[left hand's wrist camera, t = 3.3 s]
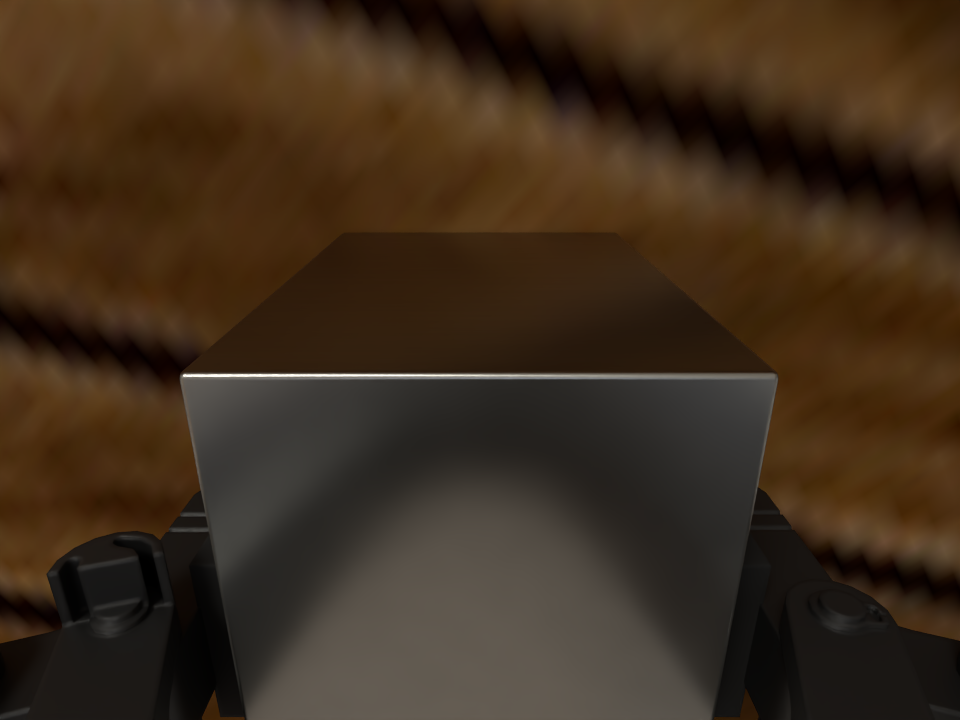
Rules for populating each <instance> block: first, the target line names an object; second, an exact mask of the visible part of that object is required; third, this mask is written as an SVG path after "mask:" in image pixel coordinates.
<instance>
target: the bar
mask: <svg viewBox="0 0 960 720" xmlns="http://www.w3.org/2000/svg"><path fill="white" fill-rule="evenodd" d="M180 383H181V388H182V393H183V399H184V404H185V409H186V414H187V420H188V425H189V430H190V435H191V441H192V446H193V451H194V456H195V461H196V467H197V472H198V477H199V482H200V488H201V493H202V498H203V503H204V509H205V514H206V519H207V524H208V529H209V535H210V540H211V545H212V550H213V556H214V561H215V566H216V571H217V577H218V582H219V587H220V592H221V597H222V603H223V608H224V613H225V618H226V624H227V629H228V634H229V639H230V645H231V650H232V655H233V660H234V666H235V671H236V676H237V681H238V686H239V692H240V697H241V702H242V707H243V713H244V718H245V720H714V715H715V709H716V704H717V699H718V694H719V688H720V683H721V678H722V673H723V667H724V662H725V657H726V651H727V646H728V641H729V636H730V630H731V625H732V620H733V615H734V609H735V604H736V599H737V593H738V588H739V583H740V578H741V572H742V567H743V562H744V557H745V551H746V546H747V541H748V536H749V530H750V525H751V520H752V514H753V509H754V504H755V499H756V493H757V488H758V483H759V478H760V472H761V467H762V462H763V457H764V451H765V446H766V441H767V435H768V430H769V425H770V420H771V414H772V409H773V404H774V399H775V393H776V388H777V383H778V375H777V372H776V371H774V370H773V369H772V368H771V367H770V366H769V365H768V364H766V363H765V362H764V361H763V360H762V359H761V358H759V357H758V356H757V355H756V354H755V353H754V352H753V351H751V350H750V349H749V348H748V347H747V346H746V345H744V344H743V343H742V342H741V341H740V340H739V339H738V338H736V337H735V336H734V335H733V334H732V333H731V332H729V331H728V330H727V329H726V328H725V327H724V326H723V325H721V324H720V323H719V322H718V321H717V320H716V319H714V318H713V317H712V316H711V315H710V314H709V313H708V312H706V311H705V310H704V309H703V308H702V307H701V306H699V305H698V304H697V303H696V302H695V301H694V300H693V299H691V298H690V297H689V296H688V295H687V294H686V293H684V292H683V291H682V290H681V289H680V288H679V287H678V286H676V285H675V284H674V283H673V282H672V281H671V280H669V279H668V278H667V277H666V276H665V275H664V274H663V273H661V272H660V271H659V270H658V269H657V268H656V267H654V266H653V265H652V264H651V263H650V262H649V261H648V260H646V259H645V258H644V257H643V256H642V255H641V254H639V253H638V252H637V251H636V250H635V249H634V248H633V247H631V246H630V245H629V244H628V243H627V242H626V241H624V240H623V239H622V238H621V237H620V236H619V235H618V234H616V233H343V234H342V235H340V236H339V237H338V238H337V239H336V240H335V241H333V242H332V243H331V244H330V245H329V246H328V247H326V248H325V249H324V250H323V251H322V252H321V253H319V254H318V255H317V256H316V257H315V258H314V259H312V260H311V261H310V262H309V263H308V264H307V265H306V266H304V267H303V268H302V269H301V270H300V271H299V272H297V273H296V274H295V275H294V276H293V277H292V278H290V279H289V280H288V281H287V282H286V283H285V284H283V285H282V286H281V287H280V288H279V289H278V290H276V291H275V292H274V293H273V294H272V295H271V296H270V297H268V298H267V299H266V300H265V301H264V302H263V303H261V304H260V305H259V306H258V307H257V308H256V309H254V310H253V311H252V312H251V313H250V314H249V315H247V316H246V317H245V318H244V319H243V320H242V321H240V322H239V323H238V324H237V325H236V326H235V327H233V328H232V329H231V330H230V331H229V332H228V333H227V334H225V335H224V336H223V337H222V338H221V339H220V340H218V341H217V342H216V343H215V344H214V345H213V346H211V347H210V348H209V349H208V350H207V351H206V352H204V353H203V354H202V355H201V356H200V357H199V358H197V359H196V360H195V361H194V362H193V363H192V364H190V365H189V366H188V367H187V368H186V369H185V370H184V371H182V372H181V375H180Z"/></svg>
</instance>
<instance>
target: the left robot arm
mask: <svg viewBox="0 0 960 720" xmlns="http://www.w3.org/2000/svg"><path fill="white" fill-rule="evenodd" d="M47 577H48V580H49V583H50V587H51V590H52V593H53V596H54V599H55V602H56V606H57V609H58V612H59V615H60V618H61V622H62V625H63V626H62V629H59V630H56V631H52V632H49V633H45V634H40V635H36V636H31V637H27V638H23V639H18V640H14V641H10V642H5V643H1V644H0V720H202V716H203V713H204V711H205V709H206V707H207V705H208V703H209V700H210V698H211V696H212V694H213V692H214V690H215V693H216V698H217V703H218V707H219V712H220V717H244V713H243V707H242V702H241V697H240V692H239V686H238V681H237V676H236V671H235V666H234V660H233V655H232V650H231V645H230V639H229V634H228V629H227V624H226V618H225V613H224V608H223V603H222V597H221V592H220V587H219V582H218V577H217V571H216V566H215V561H214V556H213V550H212V545H211V540H210V535H209V529H208V524H207V519H206V514H205V509H204V503H203V498H202V493H201V491H199V492H198V493H196V494H195V495H194V496H193V497H192V499H191V500H190V501H189V503H188V504H187V505H186V507H185V508H184V509H183V511H182V512H181V516H180V517H177V519H176V520H175V521H174V523H173V524H172V525H171V527H170V528H169V532H166V533H165V535H164V536H163V537H162V539H161V540H159V539H158V538H157V537H155V536H154V535H153V534H149V533H144V532H139V531H131V532H117V533H113V534H109V535H106V536H102V537H98V538H95V539H93V540H91V541H88V542H86V543H84V544H82V545H80V546H78V547H75V548H74V549H72V550H71V551H70V552H68V553H67V554H65V555H64V556H63V557H61V558H60V559H58V560H57V561H56V563H55V564H54V565H53V566H52V568H51V569H50V570H49V572H48V573H47ZM745 688H746V689H747V691H748V693H749V695H750V697H751V699H752V702H753V704H754V706H755V708H756V710H757V712H758V714H759V717H758V720H960V641H958V640H953V639H949V638H945V637H940V636H936V635H931V634H927V633H923V632H918V631H914V630H910V629H906V628H903V627H900V626H898V625H897V624H896V622H895V621H894V619H893V618H892V616H891V615H890V613H889V612H888V610H887V609H885V608H884V607H883V606H882V605H881V604H879V603H878V602H877V601H876V600H874V599H873V598H872V597H871V596H869V595H867V594H865V593H863V592H861V591H859V590H857V589H855V588H853V587H851V586H848V585H845V584H841V583H838V582H835V581H832V579H831V578H830V577H829V575H828V574H827V573H826V571H825V570H824V569H823V567H822V566H821V565H820V563H819V562H818V561H817V560H816V558H815V557H814V556H813V554H812V553H811V552H810V550H809V549H808V548H807V546H806V545H805V544H804V542H803V541H802V540H801V538H800V537H799V536H798V534H797V533H796V532H795V530H792V529H791V525H790V524H789V523H788V521H787V520H786V519H785V517H784V516H783V515H780V511H779V509H778V508H777V507H776V505H775V504H774V503H773V501H772V500H771V499H770V497H769V496H768V495H767V493H766V492H764V491H763V490H761V489H760V488H757V493H756V499H755V504H754V509H753V514H752V520H751V525H750V530H749V536H748V541H747V546H746V551H745V557H744V562H743V567H742V572H741V578H740V583H739V588H738V593H737V599H736V604H735V609H734V615H733V620H732V625H731V630H730V636H729V641H728V646H727V651H726V657H725V662H724V667H723V673H722V678H721V683H720V688H719V694H718V699H717V704H716V709H715V715H714V717H740V712H741V707H742V703H743V698H744V693H745Z"/></svg>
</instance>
